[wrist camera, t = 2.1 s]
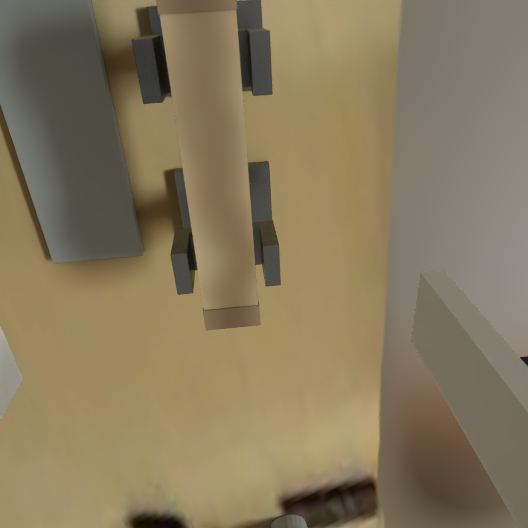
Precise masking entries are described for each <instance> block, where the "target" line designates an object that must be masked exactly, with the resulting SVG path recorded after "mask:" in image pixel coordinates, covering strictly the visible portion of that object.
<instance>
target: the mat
mask: <svg viewBox="0 0 528 528" xmlns="http://www.w3.org/2000/svg"><path fill="white" fill-rule="evenodd" d="M0 105H1V108H2V111H3V114H4V117H5V120H6V123H7V126H8V129H9V132H10V135H11V138H12V141H13V144H14V147H15V150H16V153H17V156H18V159H19V162H20V165H21V168H22V171H23V174H24V177H25V180H26V183H27V186H28V189H29V192H30V195H31V198H32V201H33V204H34V207H35V210H36V213H37V216H38V219H39V222H40V225H41V228H42V231H43V234H44V237H45V240H46V243H47V246H48V249H49V252H50V255H51V258H52V261H53V263H64V262H75V261H86V260H98V259H109V258H120V257H131V256H143V252H144V248H143V243H142V238H141V233H140V229H139V224H138V219H137V215H136V210H135V205H134V201H133V196H132V191H131V187H130V182H129V177H128V172H127V168H126V163H125V158H124V154H123V149H122V144H121V140H120V135H119V130H118V125H117V121H116V116H115V111H114V107H113V102H112V97H111V93H110V88H109V83H108V79H107V74H106V69H105V64H104V60H103V55H102V50H101V46H100V41H99V36H98V32H97V27H96V22H95V18H94V13H93V8H92V3H91V0H0Z"/></svg>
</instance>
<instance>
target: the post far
mask: <svg viewBox="0 0 528 528" xmlns="http://www.w3.org/2000/svg"><path fill="white" fill-rule="evenodd" d="M248 174H249V188H250V201H251V214H252V228H253V241H254V255H255V265H259V264H262V267H263V273H264V279H265V285H266V286H276V285H281V281H280V258H279V243H278V239H277V235H276V231H275V227H274V223H273V220H272V210H271V190H270V170H269V162H268V161H266V162H253V163H248ZM174 177H175V183H176V189H177V195H178V202H179V208H180V214H181V220H182V227H183V228H179V229H176V230H175V235H174V240H173V245H172V250H171V260H172V266H173V271H174V277H175V282H176V288H177V293H178V295H180V294H190V293H193V288H194V278H195V270H198V268H197V262H196V255H195V248H194V241H193V235H192V228H191V221H190V215H189V208H188V201H187V195H186V188H185V181H184V174H183V168H178V169H175V170H174Z"/></svg>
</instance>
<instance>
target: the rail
mask: <svg viewBox="0 0 528 528" xmlns="http://www.w3.org/2000/svg"><path fill="white" fill-rule="evenodd" d="M156 3H157V9H158V15H160V20H161V27H162V34H163V40H164V47H165V54H166V61H167V67H168V74H169V81H170V87H171V94H172V101H173V107H174V114H175V121H176V128H177V134H178V141H179V148H180V154H181V161H182V168H183V174H184V181H185V188H186V195H187V201H188V208H189V215H190V221H191V228H192V235H193V241H194V248H195V255H196V262H197V268H198V275H199V282H200V288H201V295H202V302H203V315H204V321H205V328H206V330H215V329H225V328H236V327H246V326H256V325H261V324H260V311H259V301H258V293H257V281H256V268H255V255H254V241H253V228H252V214H251V201H250V188H249V174H248V161H247V147H246V134H245V121H244V107H243V94H242V80H241V67H240V54H239V40H238V27H237V14H236V10H237V0H156Z"/></svg>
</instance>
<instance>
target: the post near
mask: <svg viewBox="0 0 528 528" xmlns="http://www.w3.org/2000/svg"><path fill="white" fill-rule="evenodd" d="M147 8H148V14H149V20H150V27H151V33H152V35H151V36H142V37H139V38H136V39H133V40H132V44H133V50H134V55H135V61H136V66H137V72H138V78H139V83H140V89H141V94H142V100H143V104H148V103H162V102H163V101H164V99H165V97H166V96H172V94H171V87H170V81H169V74H168V67H167V61H166V54H165V47H164V40H163V34H162V27H161V20H160V15H158V9H157V6H151V7H147ZM236 14H237V27H238V40H239V54H240V67H241V80H242V91H249V90H252V93H253V95H254V96H258V95H271V94H272V73H271V50H270V31H269V30H267V29H264V28H262V11H261V0H247V1H237V10H236Z"/></svg>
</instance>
